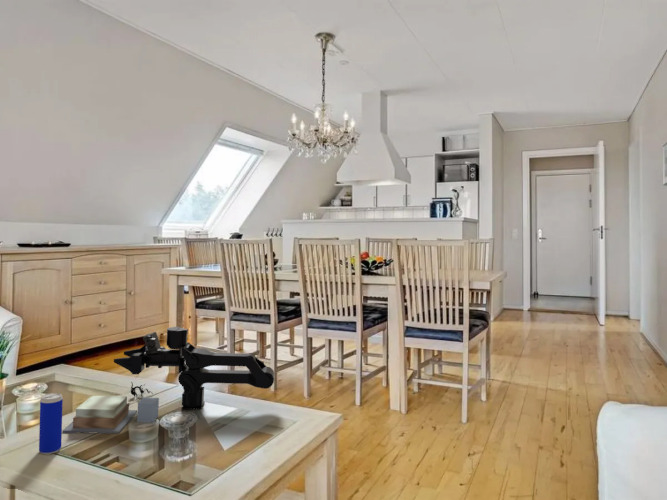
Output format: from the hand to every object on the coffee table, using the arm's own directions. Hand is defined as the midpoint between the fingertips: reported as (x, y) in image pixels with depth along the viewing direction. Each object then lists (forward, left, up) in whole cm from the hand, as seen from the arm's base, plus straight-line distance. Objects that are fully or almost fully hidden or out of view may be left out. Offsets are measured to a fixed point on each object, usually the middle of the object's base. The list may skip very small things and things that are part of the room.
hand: (119, 356), depth 159 cm
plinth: (0, +14, -17) cm, 22 cm away
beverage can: (+6, +33, -17) cm, 37 cm away
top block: (-13, +11, -17) cm, 24 cm away
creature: (-5, -8, -17) cm, 20 cm away
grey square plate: (0, +14, -17) cm, 22 cm away
